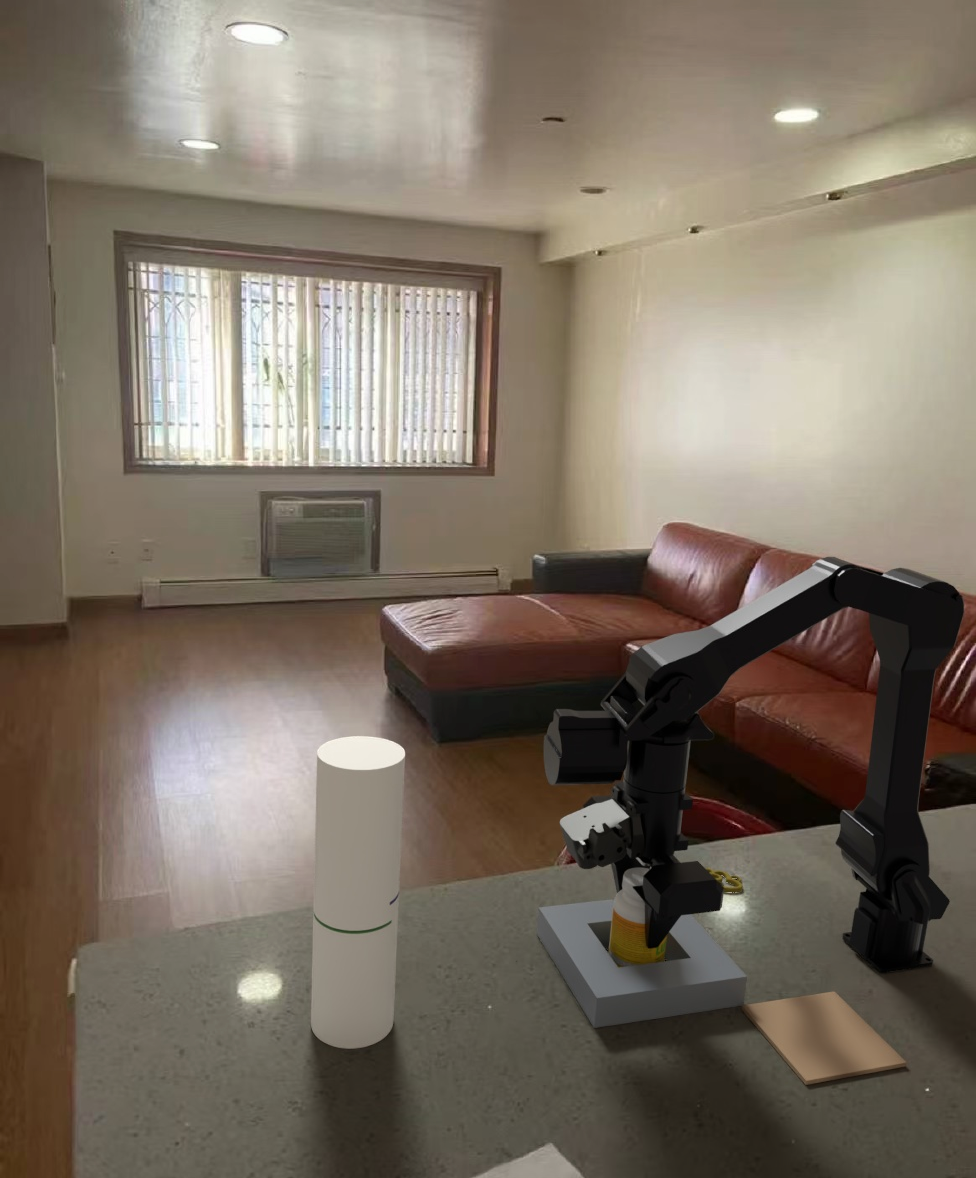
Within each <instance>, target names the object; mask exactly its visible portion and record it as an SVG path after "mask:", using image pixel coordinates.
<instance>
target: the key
mask: <svg viewBox="0 0 976 1178" xmlns="http://www.w3.org/2000/svg"><path fill="white" fill-rule="evenodd" d="M704 868H705V869H706V870H707V871H708V872H709V873H710V874H711V875H712V876H713V877H714V878H715V879H716V880H717V881H718V882H719V883H720V884H722V883H723V880H724V879H725V878H726V879H725V883H726V882H728V883H731V884H733V885H732V886H724V885H722V886H723V887H724V892H732V893H731V894H736V893H735V892H739V893H741V892H743V888H744V887H743V886H744V885H743V883H742V882H741V881H743V880H742V878H741V876H738V875H733V874H732V875H730V873H727V872H725V871H723V870H714V869H712V868H709V867H704ZM721 875H723V876H724V877H725V878H724V877H722V876H721ZM732 878H737V879H738V880H736V879H732ZM731 884H730V885H731ZM734 885H736V886H734ZM733 892H734V893H733Z"/></svg>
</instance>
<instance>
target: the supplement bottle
mask: <svg viewBox="0 0 976 1178" xmlns="http://www.w3.org/2000/svg"><path fill="white" fill-rule="evenodd" d="M650 869H651V868H650ZM650 869H648V868H631V869H628V870H627V871H625V873H624V875H623V882H622V890H620V891H619V892H618V893H617V892H616V894H615V897H614V898H613V899H614V903H613V913H612V923H611V933H610V943H609V947H608V954H609V955H610V957H611V958H612V959H613V961H614V962H615V964H616V965H617V966H618V968H620V967H627V966H635V965H642V964H650V963H657V962H665V959H666V958H665V949H666V941H667V936H666V937H665V938H664V940H663V941H662V942H661V944H660V945H659V946H658V947H657V948H651V949H649V948H648V947H647V946H646V938H645V903H644V901H643V900H642V899H641V898H640V897H639V895H638V894H637V893H636V892H635V891H634V889H633V886H642V885H643V876H644V875H645V874H646V873H647V872H648V871H649V870H650Z"/></svg>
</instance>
